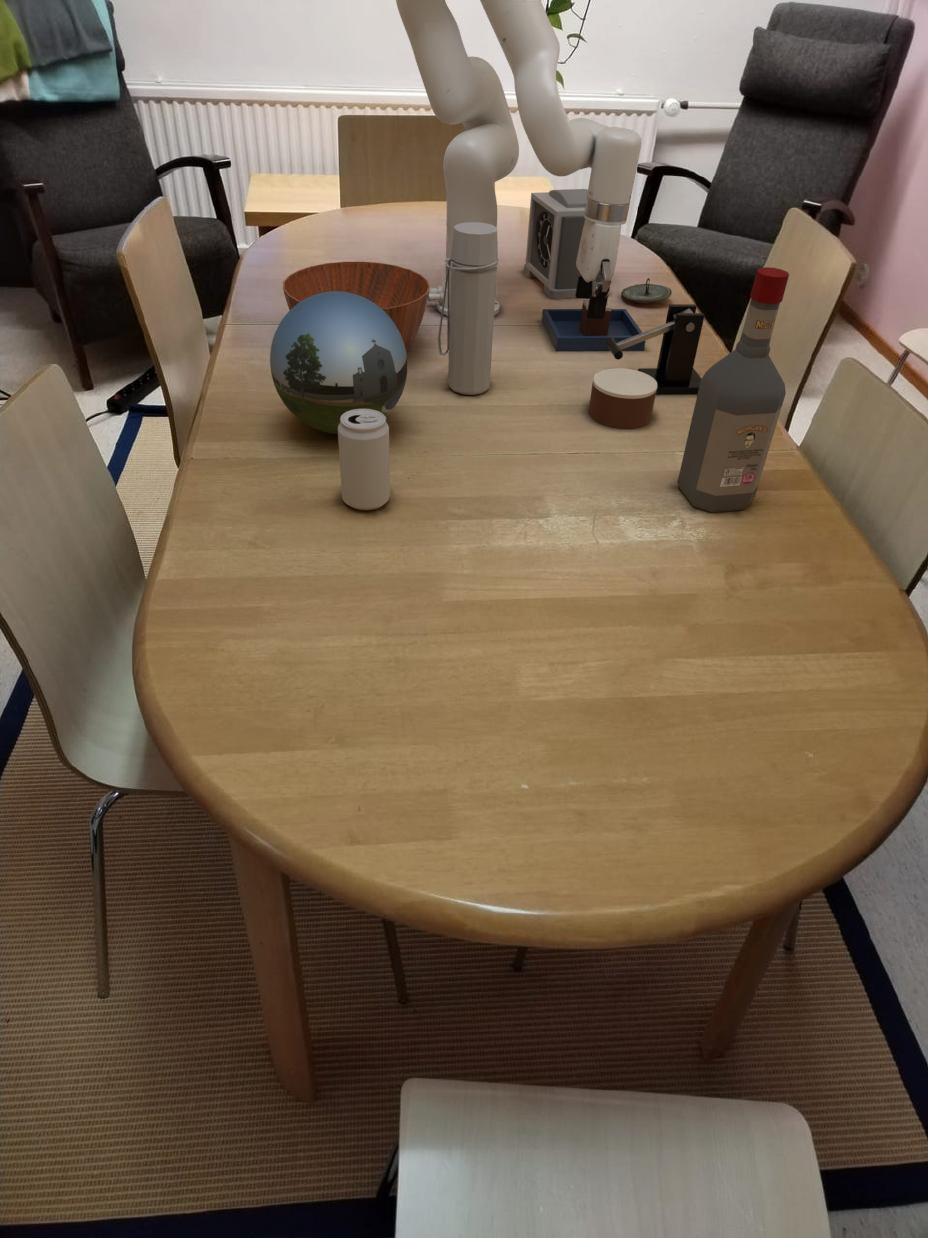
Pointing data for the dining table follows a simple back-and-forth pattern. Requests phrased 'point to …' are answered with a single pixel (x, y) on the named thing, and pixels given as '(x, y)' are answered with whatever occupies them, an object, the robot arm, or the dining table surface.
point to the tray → (569, 337)
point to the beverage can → (364, 458)
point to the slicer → (678, 353)
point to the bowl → (367, 289)
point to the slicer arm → (640, 337)
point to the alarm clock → (555, 240)
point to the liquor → (737, 410)
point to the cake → (622, 398)
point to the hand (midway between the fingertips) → (589, 307)
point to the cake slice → (594, 322)
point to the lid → (646, 293)
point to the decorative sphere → (337, 359)
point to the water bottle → (470, 307)
